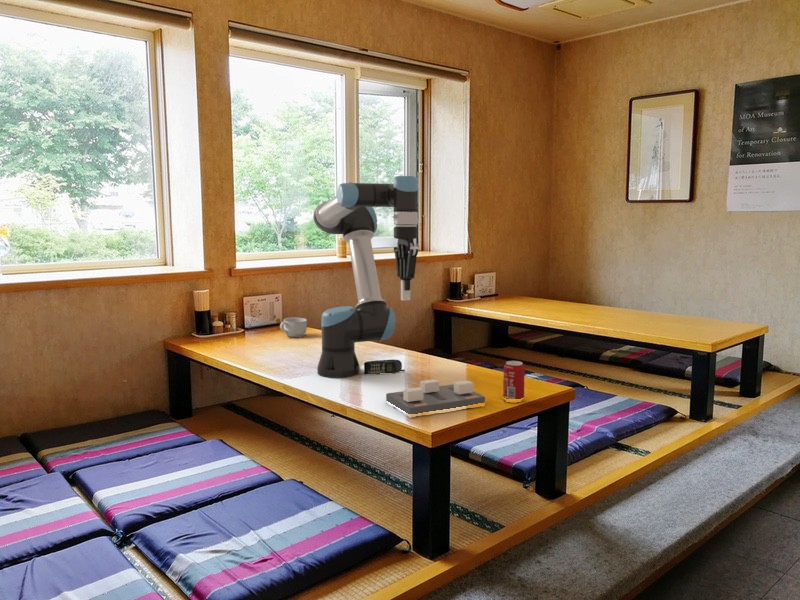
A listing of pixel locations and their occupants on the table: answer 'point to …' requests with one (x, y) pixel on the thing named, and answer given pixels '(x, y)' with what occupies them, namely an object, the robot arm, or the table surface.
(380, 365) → the mobile phone
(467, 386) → the tab
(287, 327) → the teacup
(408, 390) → the tab
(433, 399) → the switch plate
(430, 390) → the tab
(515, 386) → the beverage can
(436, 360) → the table surface
